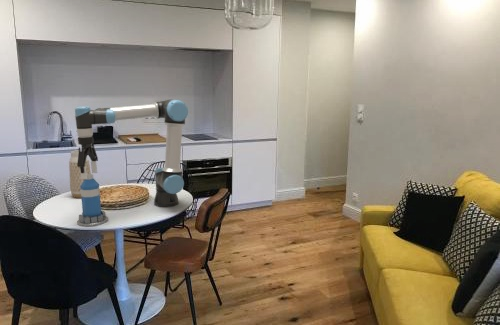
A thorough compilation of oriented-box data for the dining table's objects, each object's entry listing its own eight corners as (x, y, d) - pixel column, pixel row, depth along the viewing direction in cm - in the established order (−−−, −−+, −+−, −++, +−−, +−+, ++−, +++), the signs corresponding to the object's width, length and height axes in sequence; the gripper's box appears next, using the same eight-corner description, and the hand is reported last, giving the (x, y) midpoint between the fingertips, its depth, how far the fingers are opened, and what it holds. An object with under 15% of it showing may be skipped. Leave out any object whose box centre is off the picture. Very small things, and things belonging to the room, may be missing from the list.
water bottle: (91, 216, 223) (88, 172, 219) (105, 217, 220) (101, 173, 215) (79, 221, 215) (75, 176, 210) (93, 223, 212) (89, 177, 207)
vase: (68, 196, 269) (63, 151, 263) (88, 192, 278) (84, 148, 272) (75, 200, 259) (71, 153, 253) (96, 196, 268) (92, 151, 262)
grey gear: (112, 216, 225) (111, 208, 224) (101, 226, 210) (101, 218, 209) (84, 216, 226) (83, 208, 225) (71, 226, 210) (70, 218, 209)
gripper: (88, 133, 221) (92, 170, 225) (67, 139, 197) (71, 181, 201) (101, 133, 221) (105, 170, 225) (82, 139, 196) (86, 181, 201)
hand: (89, 175), depth 213 cm, fingers open, 13 cm apart
